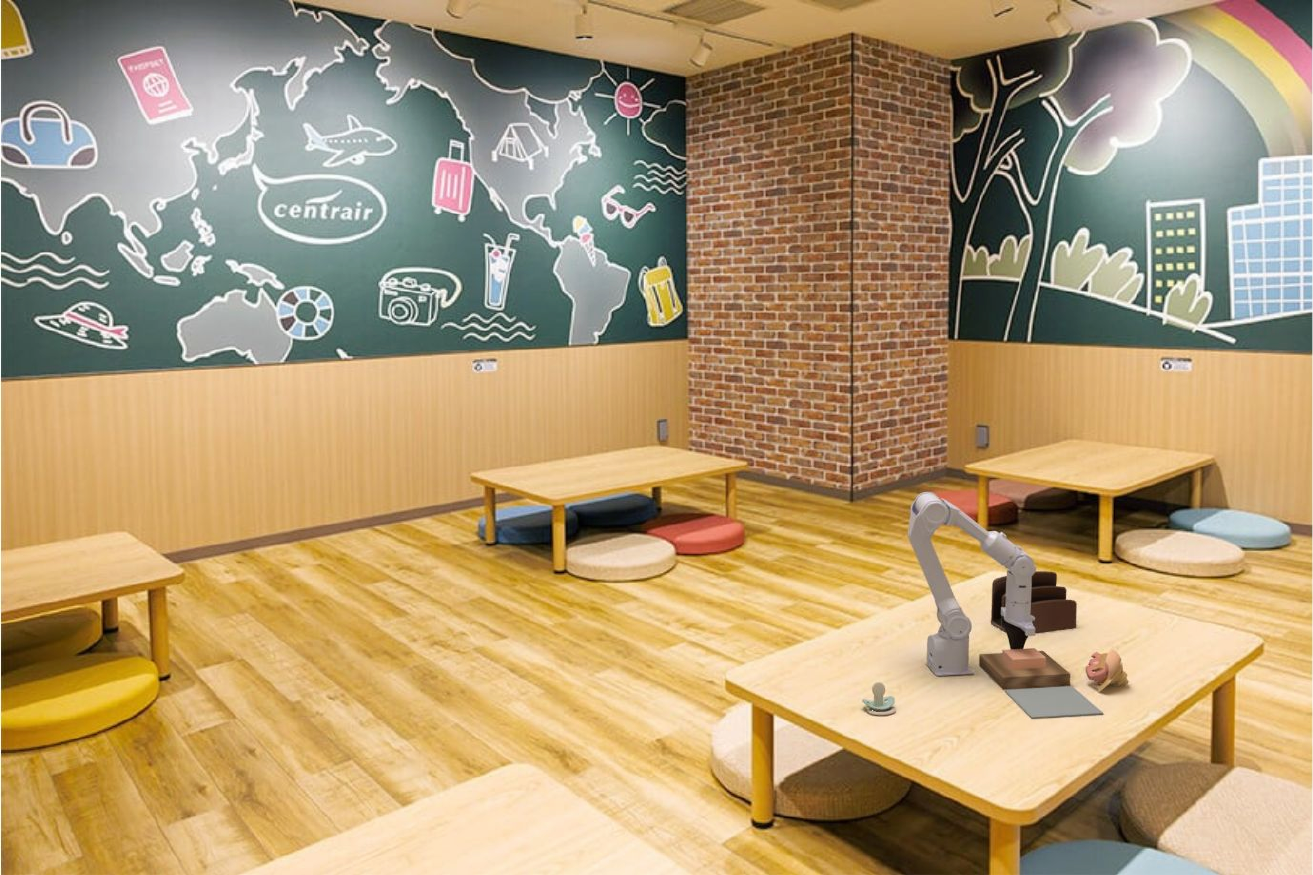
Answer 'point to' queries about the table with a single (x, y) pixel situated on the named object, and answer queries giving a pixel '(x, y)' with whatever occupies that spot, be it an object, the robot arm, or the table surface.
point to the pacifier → (880, 701)
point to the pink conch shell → (1106, 670)
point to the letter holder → (1038, 603)
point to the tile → (1024, 658)
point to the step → (1024, 673)
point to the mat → (1053, 702)
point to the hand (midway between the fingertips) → (1016, 653)
